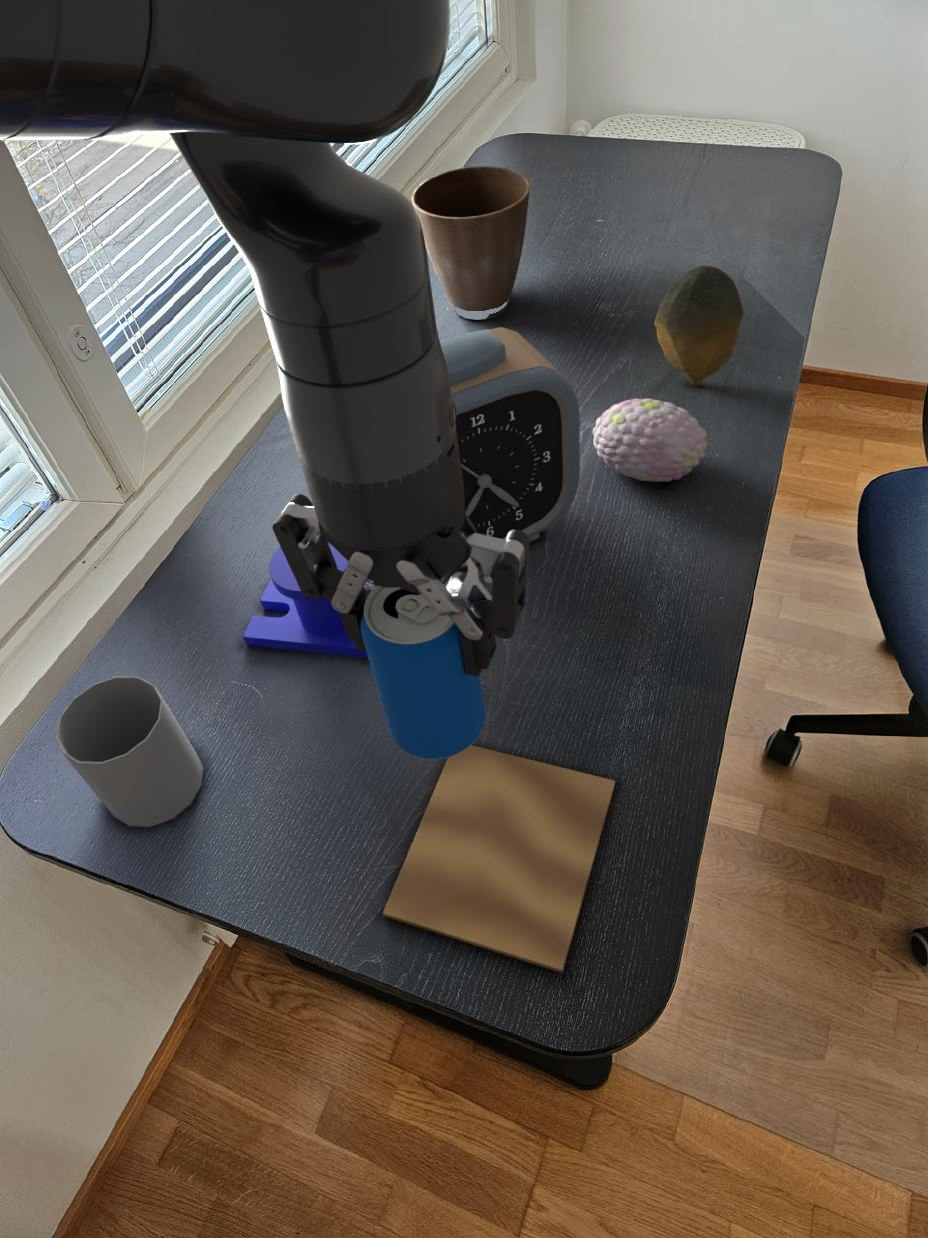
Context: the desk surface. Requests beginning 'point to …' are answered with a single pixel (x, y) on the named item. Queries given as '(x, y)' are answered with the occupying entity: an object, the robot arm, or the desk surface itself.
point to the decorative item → (649, 440)
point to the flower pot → (474, 232)
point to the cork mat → (504, 855)
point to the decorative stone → (699, 322)
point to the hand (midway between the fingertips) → (422, 652)
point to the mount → (299, 615)
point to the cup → (130, 750)
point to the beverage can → (421, 674)
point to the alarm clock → (512, 432)
